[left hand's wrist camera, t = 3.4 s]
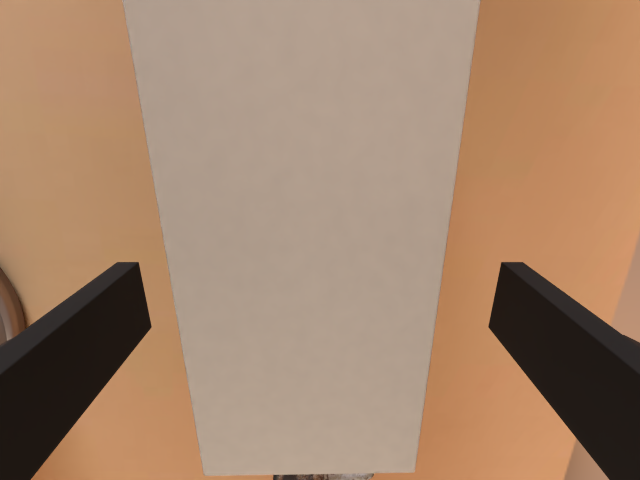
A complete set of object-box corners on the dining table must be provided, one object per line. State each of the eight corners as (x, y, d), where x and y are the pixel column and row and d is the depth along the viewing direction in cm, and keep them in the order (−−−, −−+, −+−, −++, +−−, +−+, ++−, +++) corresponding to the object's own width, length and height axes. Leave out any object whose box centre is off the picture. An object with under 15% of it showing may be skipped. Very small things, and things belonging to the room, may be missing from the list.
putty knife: (373, 464, 27) (376, 485, 26) (275, 477, 28) (273, 499, 26) (371, 455, 27) (375, 476, 25) (273, 469, 27) (270, 490, 26)
